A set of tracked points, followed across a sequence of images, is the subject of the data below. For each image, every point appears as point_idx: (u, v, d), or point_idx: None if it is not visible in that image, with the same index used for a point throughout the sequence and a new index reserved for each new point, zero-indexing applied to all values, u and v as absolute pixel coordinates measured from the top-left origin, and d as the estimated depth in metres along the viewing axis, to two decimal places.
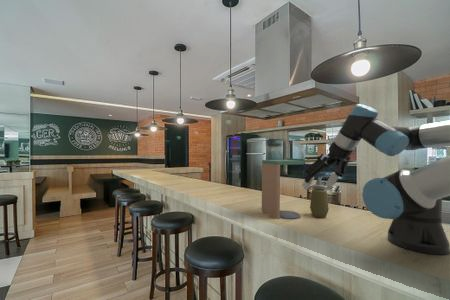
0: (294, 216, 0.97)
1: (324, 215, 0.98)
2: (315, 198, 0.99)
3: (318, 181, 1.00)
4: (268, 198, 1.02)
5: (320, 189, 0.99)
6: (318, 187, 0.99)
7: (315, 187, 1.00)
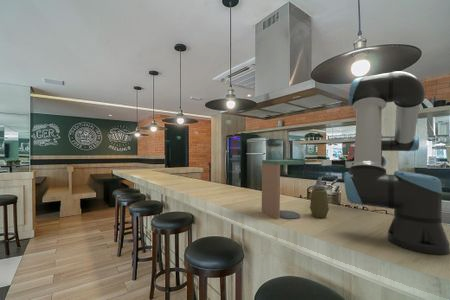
0: (294, 216, 0.97)
1: (324, 215, 0.98)
2: (315, 198, 0.99)
3: (318, 181, 1.00)
4: (268, 198, 1.02)
5: (320, 189, 0.99)
6: (318, 187, 0.99)
7: (315, 187, 1.00)
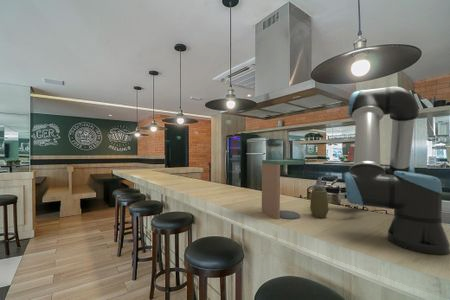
0: (294, 216, 0.97)
1: (324, 215, 0.98)
2: (315, 198, 0.99)
3: (318, 181, 1.00)
4: (268, 198, 1.02)
5: (320, 189, 0.99)
6: (318, 187, 0.99)
7: (315, 187, 1.00)
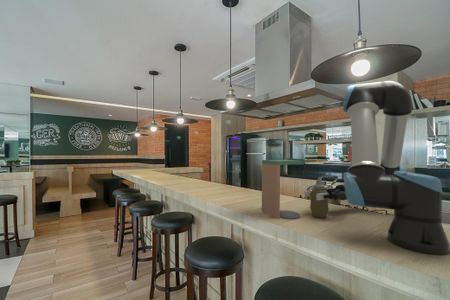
0: (294, 216, 0.97)
1: (324, 215, 0.98)
2: (315, 198, 0.99)
3: (318, 181, 1.00)
4: (268, 198, 1.02)
5: (320, 189, 0.99)
6: (318, 187, 0.99)
7: (315, 187, 1.00)
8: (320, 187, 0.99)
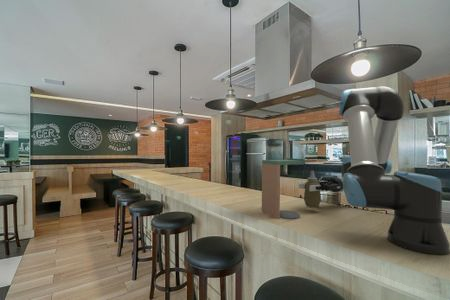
0: (294, 216, 0.97)
1: (316, 205, 1.06)
2: (308, 189, 1.07)
3: (311, 174, 1.09)
4: (268, 198, 1.02)
5: (313, 181, 1.07)
6: (311, 179, 1.07)
7: (308, 179, 1.08)
8: (313, 179, 1.07)
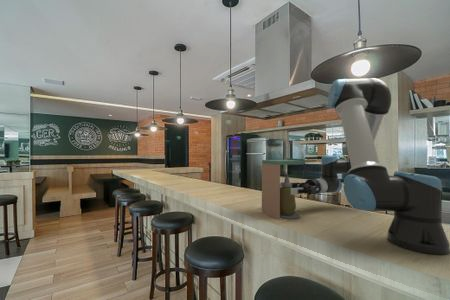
0: (294, 216, 0.97)
1: (291, 213, 0.99)
2: (282, 196, 1.00)
3: (285, 179, 1.01)
4: (268, 198, 1.02)
5: (287, 187, 1.00)
6: (285, 185, 1.00)
7: (282, 185, 1.01)
8: (287, 185, 1.00)
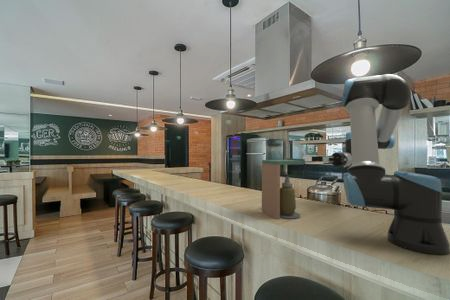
0: (294, 216, 0.97)
1: (291, 213, 0.99)
2: (282, 196, 1.00)
3: (286, 179, 1.01)
4: (268, 198, 1.02)
5: (287, 187, 1.00)
6: (285, 185, 1.00)
7: (283, 185, 1.01)
8: (287, 185, 1.00)
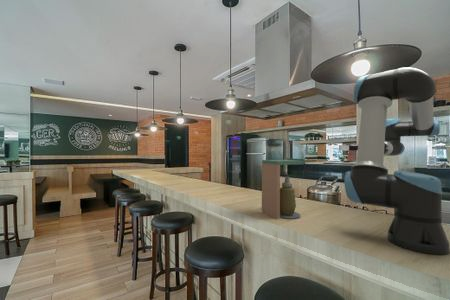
0: (294, 216, 0.97)
1: (291, 213, 0.99)
2: (282, 196, 1.00)
3: (286, 179, 1.01)
4: (268, 198, 1.02)
5: (287, 187, 1.00)
6: (285, 185, 1.00)
7: (283, 185, 1.01)
8: (287, 185, 1.00)
